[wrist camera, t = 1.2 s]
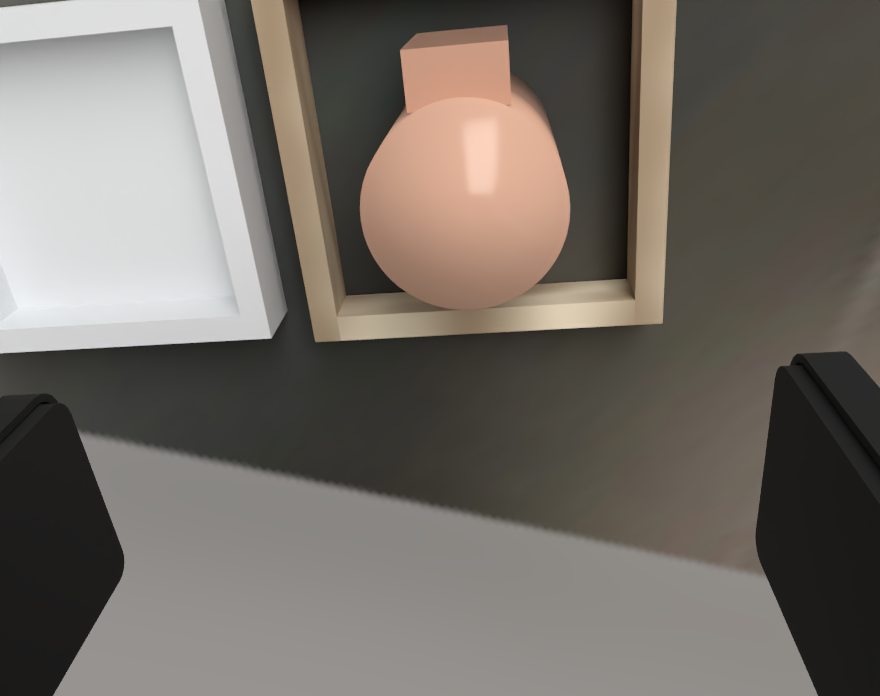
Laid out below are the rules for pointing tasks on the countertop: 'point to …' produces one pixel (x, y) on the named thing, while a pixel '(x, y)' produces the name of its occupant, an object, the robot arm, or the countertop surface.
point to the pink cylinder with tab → (465, 177)
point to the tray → (129, 180)
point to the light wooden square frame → (542, 302)
